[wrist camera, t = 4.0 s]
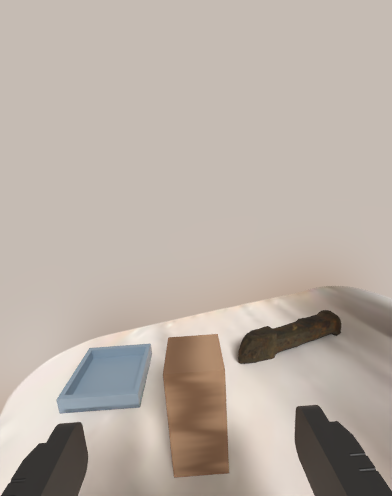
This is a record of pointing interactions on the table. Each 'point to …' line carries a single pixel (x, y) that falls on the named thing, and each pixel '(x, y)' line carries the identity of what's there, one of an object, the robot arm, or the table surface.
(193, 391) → the walnut block
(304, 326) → the brown rough rod
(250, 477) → the table surface
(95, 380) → the tray
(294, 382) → the table surface
